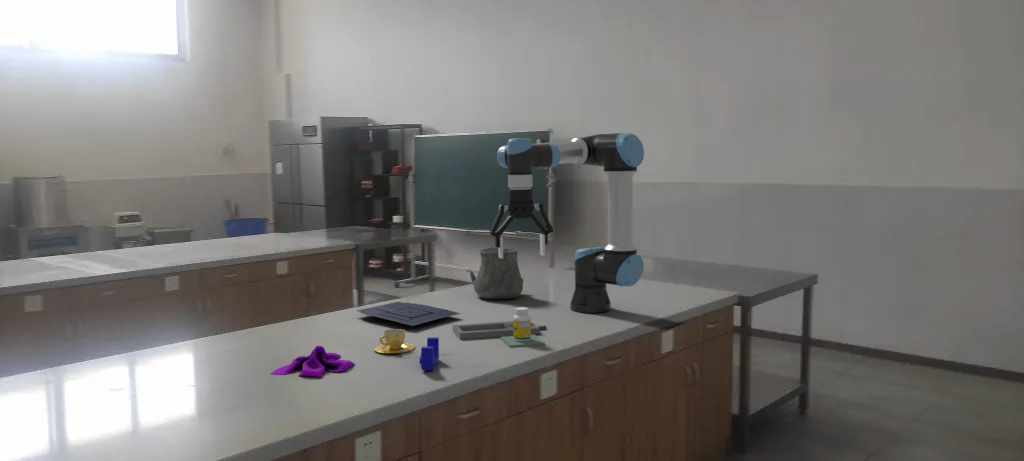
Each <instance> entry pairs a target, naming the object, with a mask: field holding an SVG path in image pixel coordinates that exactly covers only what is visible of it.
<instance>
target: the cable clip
mask: <svg viewBox="0 0 1024 461" xmlns="http://www.w3.org/2000/svg"><path fill="white" fill-rule="evenodd" d="M426 341H427V343H426V346H421V348H420V349H421V350H420V351H421V353H420V356H419V364H420V365H421V371H433V370H434V369H435V366H436V364H437V362H438V361H439V359H440V347H439V345H440V344H439V343H440V340H439V336H435V337H434V336H433V337H432V336H431V337H429V336H427V339H426Z"/></svg>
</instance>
